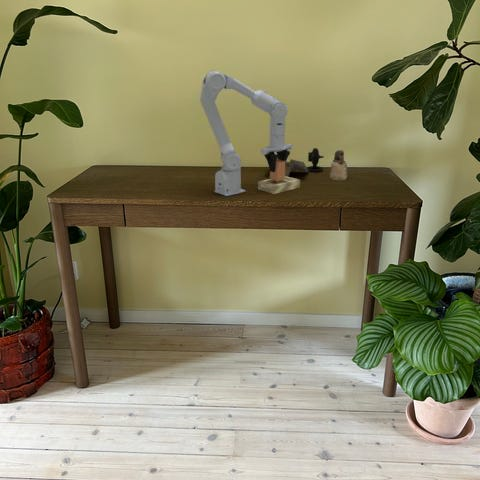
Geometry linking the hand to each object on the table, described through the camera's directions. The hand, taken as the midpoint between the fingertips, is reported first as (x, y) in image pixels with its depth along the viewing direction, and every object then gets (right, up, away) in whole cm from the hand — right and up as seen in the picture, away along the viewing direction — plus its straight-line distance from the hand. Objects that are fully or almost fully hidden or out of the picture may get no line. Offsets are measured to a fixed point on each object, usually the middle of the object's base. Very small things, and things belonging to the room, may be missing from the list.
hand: (276, 170), depth 186 cm
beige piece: (+1, -6, +4) cm, 7 cm away
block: (0, -3, +1) cm, 3 cm away
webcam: (+19, +4, +30) cm, 36 cm away
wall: (+6, +1, +23) cm, 24 cm away
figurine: (+27, -1, +17) cm, 32 cm away
